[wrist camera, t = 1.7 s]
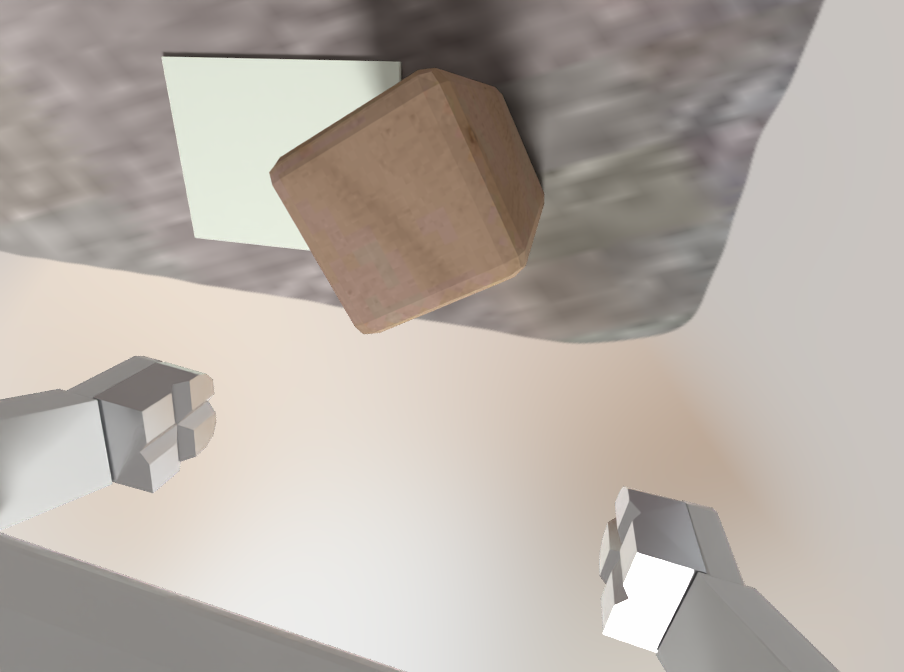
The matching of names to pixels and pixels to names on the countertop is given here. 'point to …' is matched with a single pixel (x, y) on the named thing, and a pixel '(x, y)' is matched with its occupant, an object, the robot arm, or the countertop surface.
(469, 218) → the wooden block
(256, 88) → the mat
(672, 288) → the countertop surface
